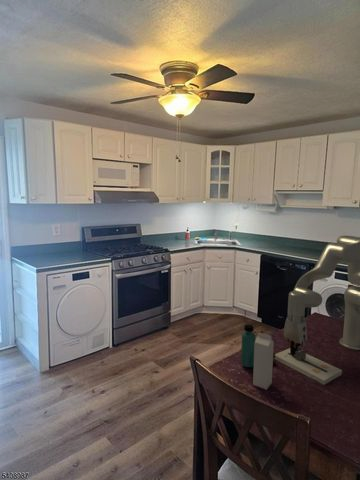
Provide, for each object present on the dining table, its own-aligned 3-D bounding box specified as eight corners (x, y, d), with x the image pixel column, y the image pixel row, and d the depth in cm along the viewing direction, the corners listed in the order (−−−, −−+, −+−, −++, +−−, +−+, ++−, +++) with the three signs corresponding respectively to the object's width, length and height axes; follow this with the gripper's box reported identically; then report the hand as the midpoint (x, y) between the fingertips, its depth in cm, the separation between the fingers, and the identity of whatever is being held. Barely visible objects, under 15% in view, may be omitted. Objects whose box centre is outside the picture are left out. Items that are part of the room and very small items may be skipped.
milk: (258, 378, 136) (260, 329, 133) (272, 383, 132) (274, 333, 130) (252, 384, 131) (254, 334, 128) (266, 390, 128) (268, 338, 125)
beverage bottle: (255, 371, 142) (257, 329, 139) (240, 369, 143) (241, 327, 140) (254, 363, 148) (256, 323, 145) (240, 362, 149) (241, 322, 146)
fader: (300, 355, 151) (300, 348, 150) (305, 358, 148) (306, 350, 148) (295, 358, 148) (295, 350, 148) (300, 360, 146) (301, 353, 146)
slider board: (291, 350, 161) (291, 346, 160) (341, 374, 139) (342, 369, 139) (273, 358, 153) (274, 354, 152) (324, 384, 132) (324, 379, 131)
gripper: (314, 321, 145) (312, 358, 147) (287, 311, 157) (285, 345, 160) (304, 324, 141) (302, 362, 143) (277, 314, 153) (276, 349, 155)
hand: (293, 353), depth 151 cm, fingers closed
